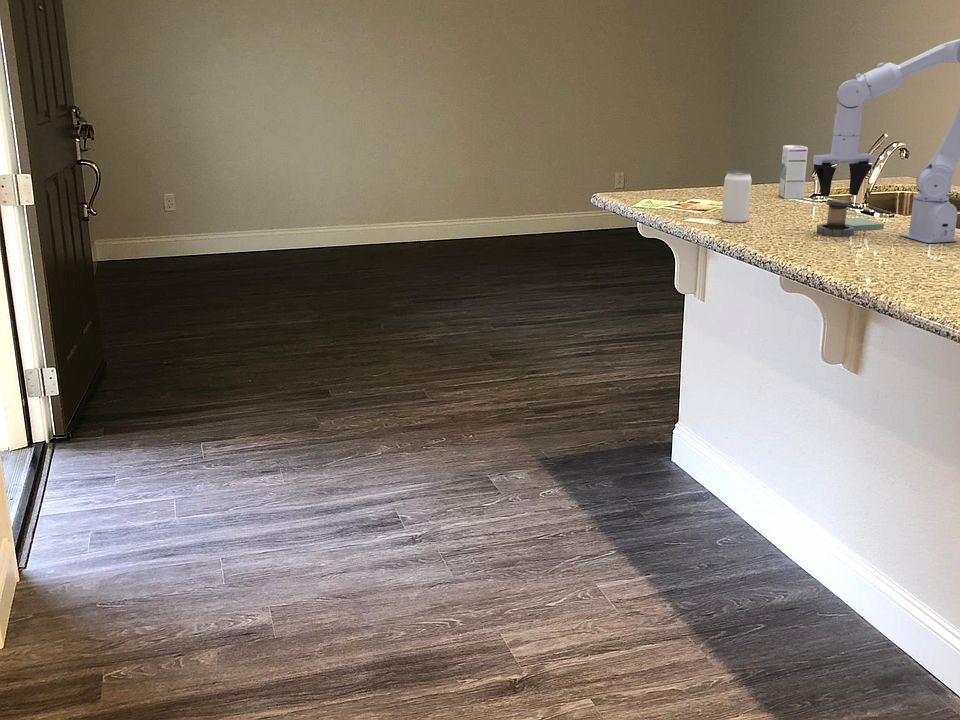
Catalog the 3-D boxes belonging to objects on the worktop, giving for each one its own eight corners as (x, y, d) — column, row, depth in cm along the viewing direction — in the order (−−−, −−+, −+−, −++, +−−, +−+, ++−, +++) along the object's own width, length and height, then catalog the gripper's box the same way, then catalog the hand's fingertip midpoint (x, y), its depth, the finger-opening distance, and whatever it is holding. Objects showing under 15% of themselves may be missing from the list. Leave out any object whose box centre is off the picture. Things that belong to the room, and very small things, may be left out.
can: (748, 223, 239) (753, 174, 235) (721, 222, 240) (725, 173, 236) (747, 219, 245) (751, 170, 241) (720, 218, 246) (724, 170, 242)
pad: (883, 228, 232) (884, 223, 232) (851, 230, 230) (851, 225, 230) (859, 222, 241) (859, 217, 240) (827, 224, 238) (828, 219, 238)
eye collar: (860, 235, 225) (861, 229, 224) (830, 237, 222) (831, 230, 222) (839, 229, 232) (839, 223, 231) (809, 231, 230) (810, 224, 229)
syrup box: (804, 199, 276) (809, 147, 271) (783, 199, 276) (788, 146, 271) (798, 196, 281) (803, 144, 276) (777, 196, 281) (782, 144, 276)
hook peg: (849, 234, 226) (853, 201, 223) (832, 235, 224) (836, 202, 222) (837, 231, 230) (841, 198, 227) (820, 232, 229) (824, 199, 226)
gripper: (862, 132, 226) (855, 191, 230) (808, 134, 222) (801, 194, 226) (882, 135, 219) (874, 196, 224) (826, 137, 215) (819, 198, 220)
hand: (839, 195), depth 224 cm, fingers open, 7 cm apart
